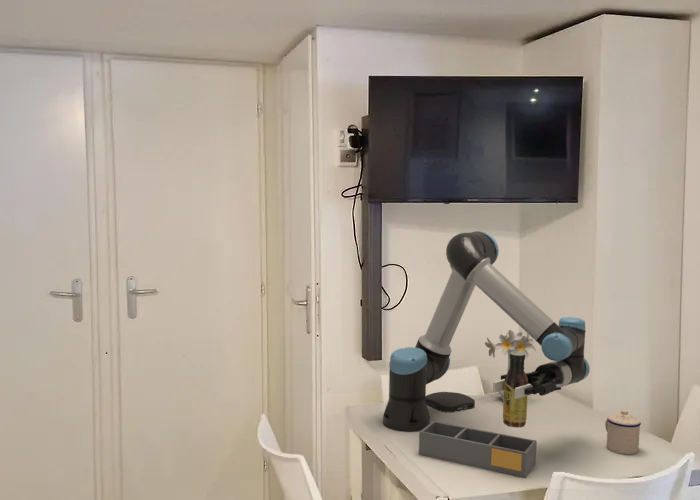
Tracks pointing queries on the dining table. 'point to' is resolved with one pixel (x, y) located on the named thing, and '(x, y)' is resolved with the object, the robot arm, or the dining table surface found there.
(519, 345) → the flower vase
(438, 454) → the caddy
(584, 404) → the dining table surface
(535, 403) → the dining table surface
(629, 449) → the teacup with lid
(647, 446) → the dining table surface
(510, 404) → the sauce bottle
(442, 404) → the media streaming box
